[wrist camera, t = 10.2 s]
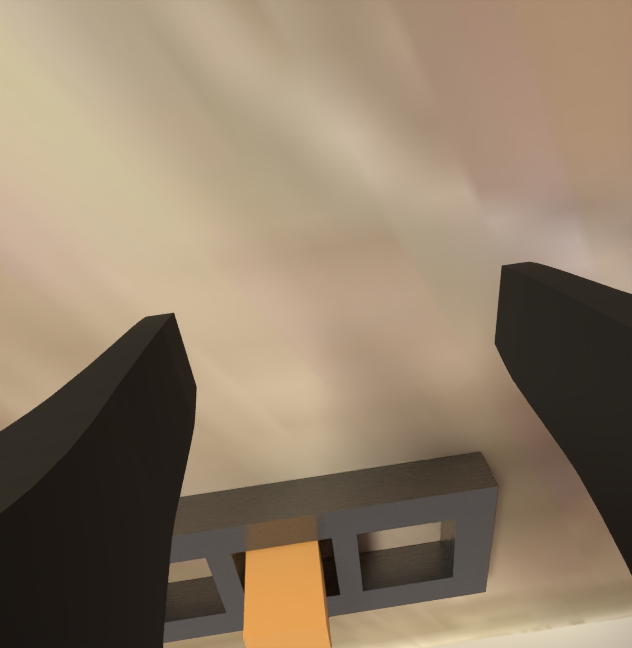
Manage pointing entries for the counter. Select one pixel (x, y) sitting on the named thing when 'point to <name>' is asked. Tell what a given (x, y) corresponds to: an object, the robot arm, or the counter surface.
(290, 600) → the square block
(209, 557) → the gray board with holes
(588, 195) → the counter surface
